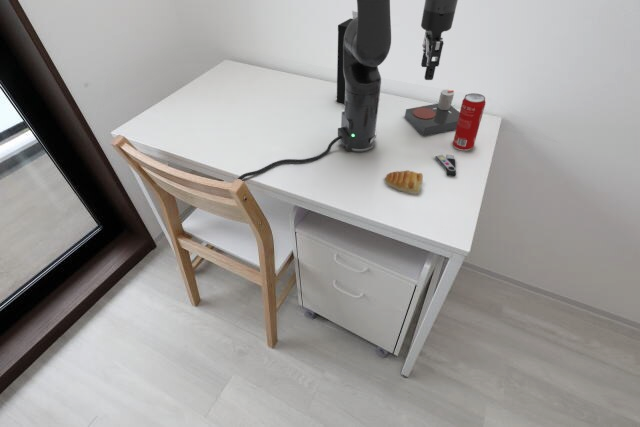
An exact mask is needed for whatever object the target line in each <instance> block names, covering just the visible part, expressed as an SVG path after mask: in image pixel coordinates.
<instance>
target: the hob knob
mask: <svg viewBox="0 0 640 427" xmlns="http://www.w3.org/2000/svg"><path fill="white" fill-rule="evenodd" d="M454 96H455V91H454V90H453V89H452V90H451V89H443V90H441V91H440V94H439V98H438V103H437V104H438V106H437V107H438V108H439V109H441V110H449V109H450V107H451V105H452V103H453V99H454Z"/></svg>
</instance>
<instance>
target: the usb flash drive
mask: <svg viewBox="0 0 640 427" xmlns="http://www.w3.org/2000/svg"><path fill="white" fill-rule="evenodd" d="M434 159H435V160H436V161H437V162H438V163H439V165H441V167H442V168H443V169H444V170H445V171H446V176H448V177H456V176H457V172H456V171H457V167H456V159H455V154H446V157H445V155H444V154H437V155H435V157H434Z"/></svg>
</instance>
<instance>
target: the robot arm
mask: <svg viewBox="0 0 640 427" xmlns="http://www.w3.org/2000/svg"><path fill="white" fill-rule="evenodd" d="M458 1H459V0H425V1H424V6H423V11H422V17H421V23H420V27H421V29H423V30H425V32H424V38H423V43H422V48H423V49H422V59H421V64H420V66H421V67H422V68H425V72H424V80H425V81H433V80H434V75H435V72H436V67H439V66H440V61H441V57H442V52H443V47H444V40H443V37H442V35H443V34H442V33H444V32H448V31H450V30H451V28H452V26H453V22H454V18H455V13H456V9H457V6H458ZM356 7H357V8H356V9H357V10H356V12H357V18H355V19H353V18H352V19H353V20H352V21H351V22H350V24H349V25H348V27H347V29H346V31H345V35H344V42H343V72H344V77H345V104H344V108H343V110H344V111H341V117H340V118H341V120H340V121H341V122H340V127H338V128H337V137H335V138H334V139H333V140H331V142H329V144H328V145H327V148H326V149H325V150H324V151H323V152H322V153H320V154H319V155H315V156H312V157H308V158H302V159H297V158H295V159H291V158H288V159H287V158H285V159H280V160H277V161H274V162H272V163H270V164H268V165H265V166H264V167H262V168H260V169H258V170H254V171H249V172H246V173H243V174H241V175H240V176H239V177H238V178H237V179H241V181H242V180H243V179H245V178H247V177H250V176H255V175H259V174H260V173H264V172H266V171H267V170H269V169H271V168H273V167H275V166H278V165H281V164H285V163H286V164H287V163H296V164H302V163H308V162H313V161H316V160H319V159H321V158H323V157H325V156H326V155H328V154H329V152H330V151H331V149H332V147H333V146H334V144H336V143H337V142H338V141H340V142H341V143H342V145H343V146H344V148H345V150H346V151H347V152H357V153H361V152H362V153H363V152H368V151H371V150H372V149H373V148H374V146H375V143H376V138H377V134H376V131H377V130H376V129H377V121H378V114H379V105H380V96H381V95H380V94H381V88H382V77H381V73H380V71H379V67H378V66H380V65H381V64H383V63H384V61H385V60H386V59H387V57H388V55H389V53H390V51H391V47H392V25H391V22H392V21H391V0H356ZM433 58H434V60H433Z"/></svg>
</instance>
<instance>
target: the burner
mask: <svg viewBox="0 0 640 427" xmlns="http://www.w3.org/2000/svg"><path fill="white" fill-rule="evenodd" d="M413 114H414V115H415V116H416V117H418V118H421V119H431V118H433V117H435V112H434V111H433V110H431V109H427V108H418V109H415V110H414V111H413Z"/></svg>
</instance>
